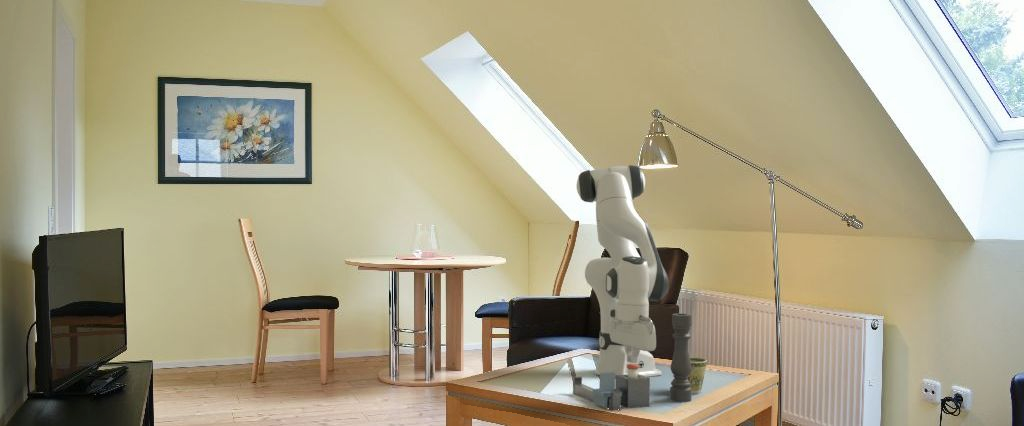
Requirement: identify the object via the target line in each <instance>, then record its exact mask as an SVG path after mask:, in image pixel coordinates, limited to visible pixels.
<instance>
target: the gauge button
mask: <svg viewBox="0 0 1024 426" xmlns="http://www.w3.org/2000/svg"><path fill="white" fill-rule="evenodd" d="M627 368H628V377H629V378H638V368H639V365H637V364H627Z"/></svg>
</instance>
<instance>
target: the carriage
mask: <svg viewBox="0 0 1024 426" xmlns="http://www.w3.org/2000/svg"><path fill="white" fill-rule="evenodd" d="M611 392H621V391H618V390H616V377H615V373H614V372H602V373H600V375H599V388H594V389H593V394H594V403H593V404H595V405H598V406H600V407H602V408H605V407H607V400H608V397H611ZM621 396H622V392H621ZM605 409H606V408H605Z"/></svg>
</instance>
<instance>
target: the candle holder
mask: <svg viewBox="0 0 1024 426" xmlns="http://www.w3.org/2000/svg"><path fill="white" fill-rule="evenodd" d="M671 317H672V318H671V326H672V329H673V330H674V333H673V334H672V338H673V339H674V352H673V355H672V359H671V364H670V370H671V373H672V374H673V375H672V376H673V379H672V381H671V382H670V384H671V386H670V387H669V400H670V401H673V402H676V403H677V402H678V403H687V402H691V401H692V394H691V388H690V387H689V386H690V385H691V384H690V382H689V380H688V377H689V376H688V375H689V374H690V373H691V370H692V367H691V362H690V357H691V356H690V352H689V340H690V339H691V336H692V335H691V334H689V333H690V330H691V329H692V328H691V327H693V326H692V324H693V321H692V320H693V318H692V317H693V315H692V314H689V313H678V312H677V313H672V314H671Z"/></svg>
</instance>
